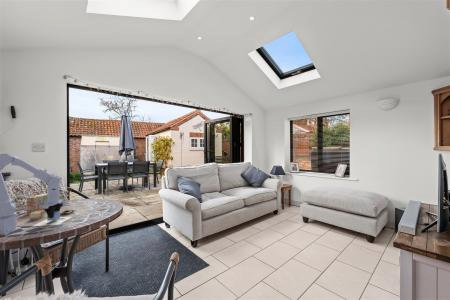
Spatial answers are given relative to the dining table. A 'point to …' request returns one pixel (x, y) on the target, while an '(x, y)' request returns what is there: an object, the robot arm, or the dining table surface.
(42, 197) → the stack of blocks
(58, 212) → the blue cube
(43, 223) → the letter card
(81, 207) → the dining table surface
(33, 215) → the oak block
